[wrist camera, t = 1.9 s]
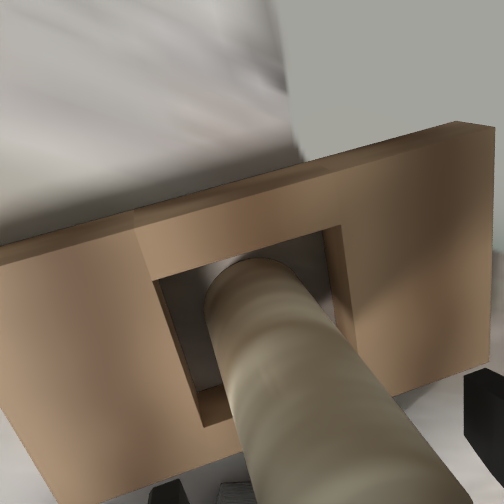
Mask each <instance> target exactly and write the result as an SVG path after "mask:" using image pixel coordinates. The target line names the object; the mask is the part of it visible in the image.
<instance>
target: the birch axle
mask: <svg viewBox="0 0 504 504" xmlns="http://www.w3.org/2000/svg"><path fill="white" fill-rule="evenodd" d="M204 316H205V321H206V324H207V328H208V331H209V335H210V338H211V342H212V345H213V349H214V352H215V356H216V359H217V363H218V366H219V370H220V374H221V377H222V381H223V384H224V388H225V391H226V395H227V398H228V402H229V405H230V409H231V412H232V416H233V419H234V423H235V426H236V430H237V433H238V437H239V440H240V444H241V447H242V451H243V454H244V458H245V461H246V465H247V468H248V472H249V476H250V479H251V483H252V486H253V490H254V493H255V497H256V500H257V504H473V501H472V499H471V498H470V496H469V494H468V493H467V492H466V490H465V489H464V488H463V487H462V485H461V484H460V483H459V481H458V480H457V479H456V478H455V476H454V475H453V474H452V473H451V471H450V470H449V469H448V468H447V466H446V465H445V464H444V462H443V461H442V460H441V459H440V457H439V456H438V455H437V454H436V452H435V451H434V450H433V449H432V447H431V446H430V445H429V443H428V442H427V441H426V440H425V438H424V437H423V436H422V435H421V433H420V432H419V431H418V430H417V428H416V427H415V426H414V424H413V423H412V422H411V421H410V419H409V418H408V417H407V416H406V414H405V413H404V412H403V411H402V409H401V408H400V407H399V405H398V404H397V403H396V402H395V400H394V399H393V398H392V397H391V395H390V394H389V393H388V392H387V390H386V389H385V388H384V386H383V385H382V384H381V383H380V381H379V380H378V379H377V378H376V376H375V375H374V374H373V373H372V371H371V370H370V369H369V367H368V366H367V365H366V364H365V362H364V361H363V360H362V359H361V357H360V356H359V355H358V353H357V352H356V351H355V350H354V348H353V347H352V346H351V345H350V343H349V342H348V341H347V340H346V338H345V337H344V336H343V334H342V333H341V332H340V331H339V329H338V328H337V327H336V326H335V324H334V323H333V322H332V321H331V319H330V318H329V317H328V315H327V314H326V313H325V312H324V310H323V309H322V308H321V307H320V305H319V304H318V303H317V302H316V300H315V299H314V298H313V296H312V295H311V294H310V293H309V291H308V290H307V289H306V288H305V286H304V285H303V284H302V283H301V281H300V280H299V279H298V277H297V276H296V275H295V274H294V273H293V271H292V270H291V269H289V268H288V267H287V266H286V265H284V264H282V263H280V262H278V261H276V260H272V259H267V258H252V259H247V260H243V261H240V262H238V263H235V264H233V265H231V266H230V267H228V268H227V269H225V270H224V271H223V272H222V273H221V274H219V275H218V277H217V278H216V279H215V280H214V281H213V283H212V284H211V286H210V288H209V289H208V292H207V294H206V297H205V302H204Z"/></svg>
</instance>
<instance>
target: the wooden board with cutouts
mask: <svg viewBox="0 0 504 504" xmlns="http://www.w3.org/2000/svg"><path fill="white" fill-rule="evenodd" d="M494 157H495V127H491V126H485V125H479V124H472V123H465V122H459V121H454V122H451V123H447V124H443V125H439V126H436V127H432V128H429V129H425V130H422V131H418V132H414V133H410V134H407V135H403V136H399V137H396V138H392V139H388V140H385V141H382V142H378V143H374V144H370V145H367V146H363V147H359V148H356V149H352V150H349V151H345V152H341V153H338V154H334V155H330V156H327V157H323V158H319V159H316V160H312V161H308V162H305V163H301V164H298V165H294V166H290V167H287V168H283V169H279V170H276V171H272V172H269V173H265V174H261V175H258V176H254V177H250V178H247V179H243V180H239V181H236V182H232V183H229V184H225V185H221V186H218V187H214V188H210V189H207V190H203V191H199V192H196V193H192V194H189V195H185V196H181V197H178V198H174V199H170V200H167V201H163V202H159V203H156V204H152V205H149V206H145V207H141V208H138V209H134V210H130V211H127V212H123V213H119V214H116V215H112V216H109V217H105V218H101V219H98V220H94V221H90V222H87V223H83V224H79V225H76V226H72V227H69V228H65V229H61V230H58V231H54V232H50V233H47V234H43V235H39V236H36V237H32V238H29V239H25V240H21V241H18V242H14V243H10V244H7V245H3V246H0V408H1V409H2V411H3V413H4V414H5V416H6V418H7V419H8V421H9V423H10V424H11V426H12V427H13V429H14V431H15V432H16V434H17V436H18V437H19V439H20V441H21V442H22V444H23V446H24V447H25V449H26V451H27V452H28V454H29V456H30V457H31V459H32V461H33V462H34V464H35V466H36V467H37V469H38V471H39V472H40V474H41V476H42V477H43V479H44V481H45V482H46V484H47V486H48V487H49V489H50V491H51V492H52V494H53V496H54V497H55V499H56V501H57V502H58V504H99V503H101V502H104V501H107V500H110V499H112V498H115V497H118V496H121V495H124V494H126V493H129V492H132V491H135V490H137V489H140V488H143V487H146V486H148V485H151V484H154V483H157V482H159V481H162V480H165V479H168V478H170V477H173V476H176V475H179V474H181V473H184V472H187V471H190V470H192V469H195V468H198V467H201V466H203V465H206V464H209V463H212V462H215V461H217V460H220V459H223V458H226V457H228V456H231V455H234V454H237V453H239V452H242V447H241V444H240V440H239V437H238V433H237V430H236V426H235V423H234V419H233V416H232V412H231V409H230V405H229V402H228V398H227V395H226V391H225V388H224V384H222V385H219V386H216V387H213V388H210V389H207V390H204V391H201V392H198V393H197V392H196V389H195V386H194V383H193V380H192V377H191V375H190V372H189V369H188V366H187V363H186V360H185V357H184V354H183V351H182V348H181V345H180V342H179V340H178V337H177V334H176V331H175V328H174V325H173V322H172V319H171V316H170V313H169V310H168V307H167V305H166V302H165V299H164V296H163V293H162V290H161V287H160V284H159V281H158V279H160V278H164V277H167V276H170V275H174V274H177V273H180V272H184V271H187V270H190V269H194V268H197V267H200V266H204V265H207V264H210V263H214V262H217V261H220V260H224V259H227V258H230V257H234V256H237V255H241V254H244V253H247V252H251V251H254V250H257V249H261V248H264V247H267V246H271V245H274V244H277V243H281V242H284V241H287V240H291V239H294V238H297V237H301V236H304V235H307V234H311V233H314V232H317V231H321V230H322V234H323V240H324V247H325V253H326V260H327V266H328V273H329V279H330V286H331V292H332V299H333V305H334V312H335V318H336V325H337V328H338V329H339V331H340V332H341V333H342V334H343V336H344V337H345V338H346V340H347V341H348V342H349V343H350V345H351V346H352V347H353V348H354V350H355V351H356V352H357V353H358V355H359V356H360V357H361V359H362V360H363V361H364V362H365V364H366V365H367V366H368V367H369V369H370V370H371V371H372V373H373V374H374V375H375V376H376V378H377V379H378V380H379V381H380V383H381V384H382V385H383V386H384V388H385V389H386V390H387V392H388V393H389V394H390V395H391V397H394V396H397V395H399V394H402V393H405V392H408V391H410V390H413V389H416V388H419V387H421V386H424V385H427V384H430V383H432V382H435V381H438V380H441V379H443V378H446V377H449V376H452V375H454V374H457V373H460V372H463V371H465V370H468V369H471V368H474V367H476V366H479V365H482V364H485V363H488V362H489V355H490V315H491V276H492V236H493V197H494Z"/></svg>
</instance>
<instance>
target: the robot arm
mask: <svg viewBox="0 0 504 504" xmlns="http://www.w3.org/2000/svg"><path fill="white" fill-rule="evenodd" d="M464 436H465V437H466V439H467V440H468V442H469V443H470V445H471V446H472V447H473V449H474V450H475V452H476V453H477V455H478V456H479V457H480V459H481V460H482V462H483V463H484V464H485V466H486V467H487V468H488V470H489V471H490V472H491V474H492V475H493V476H494V477H495V478H496V480H497V481H498V482H499V483H500V484H501V485H502V486H503V488H504V376H502V375H500V374H498V373H496V372H493V371H491V370H489V369H487V368H484V369H481V370H478V371H475V372H472V373H470V374H467V375H464ZM148 504H190V503H189V501H188V498H187V496H186V493H185V491H184V488H183V486H182V484H181V481H180V479H176V480H173V481H171V482H168V483H165V484H162V485H159V486H157V487H154V488H153V489H152V490H151V492H150V493H149V499H148Z"/></svg>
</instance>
